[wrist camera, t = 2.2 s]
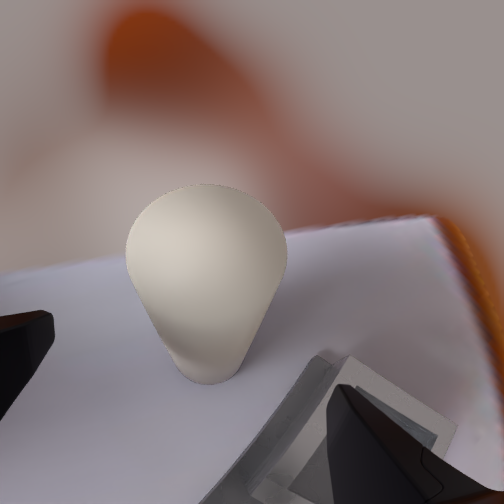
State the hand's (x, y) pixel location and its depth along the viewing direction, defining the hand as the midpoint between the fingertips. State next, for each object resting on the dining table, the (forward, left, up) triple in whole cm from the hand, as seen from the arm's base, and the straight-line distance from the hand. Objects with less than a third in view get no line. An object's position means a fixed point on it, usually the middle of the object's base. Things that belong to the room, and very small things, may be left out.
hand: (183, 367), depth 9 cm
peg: (+3, +1, -10) cm, 11 cm away
